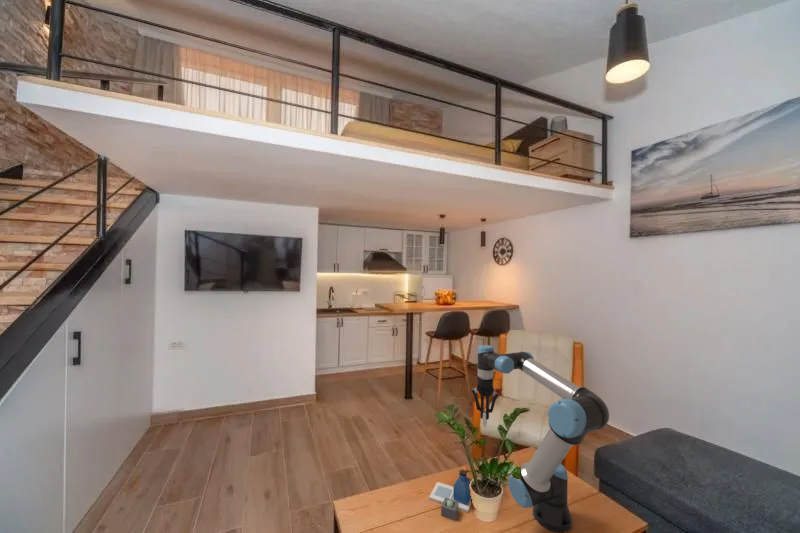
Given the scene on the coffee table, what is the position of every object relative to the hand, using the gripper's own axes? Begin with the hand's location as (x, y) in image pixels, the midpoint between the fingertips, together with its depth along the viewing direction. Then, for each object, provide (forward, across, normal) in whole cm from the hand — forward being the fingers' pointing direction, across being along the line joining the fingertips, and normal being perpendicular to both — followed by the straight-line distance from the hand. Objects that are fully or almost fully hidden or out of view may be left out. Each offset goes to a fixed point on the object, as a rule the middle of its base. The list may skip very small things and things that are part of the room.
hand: (484, 425), depth 155 cm
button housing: (+29, +10, +25) cm, 40 cm away
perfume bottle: (+29, +7, +15) cm, 33 cm away
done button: (+29, +10, +25) cm, 39 cm away
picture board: (+29, +12, +15) cm, 35 cm away
